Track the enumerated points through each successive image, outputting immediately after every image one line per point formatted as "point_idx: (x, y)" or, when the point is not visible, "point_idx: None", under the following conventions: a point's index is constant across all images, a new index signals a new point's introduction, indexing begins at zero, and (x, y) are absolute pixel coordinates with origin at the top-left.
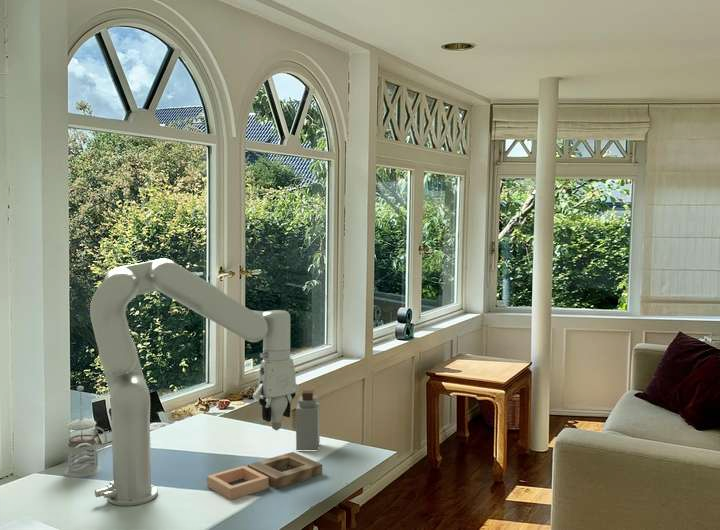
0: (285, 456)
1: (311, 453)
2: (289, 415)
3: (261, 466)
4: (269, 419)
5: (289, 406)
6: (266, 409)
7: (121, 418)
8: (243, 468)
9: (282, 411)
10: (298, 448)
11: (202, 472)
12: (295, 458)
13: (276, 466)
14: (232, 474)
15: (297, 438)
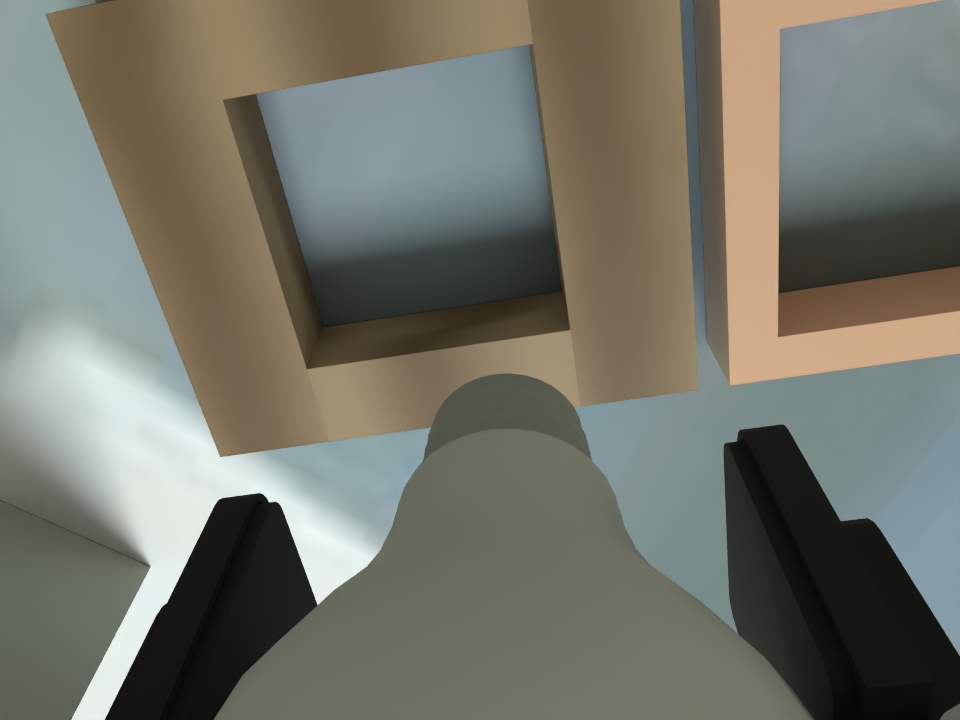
0: (322, 396)
1: (51, 482)
2: (226, 512)
3: (621, 289)
4: (785, 448)
5: (148, 684)
6: (939, 685)
7: None
8: (777, 328)
9: (434, 540)
10: (126, 574)
11: (906, 536)
12: (256, 309)
13: (438, 326)
14: (875, 308)
15: (100, 639)
